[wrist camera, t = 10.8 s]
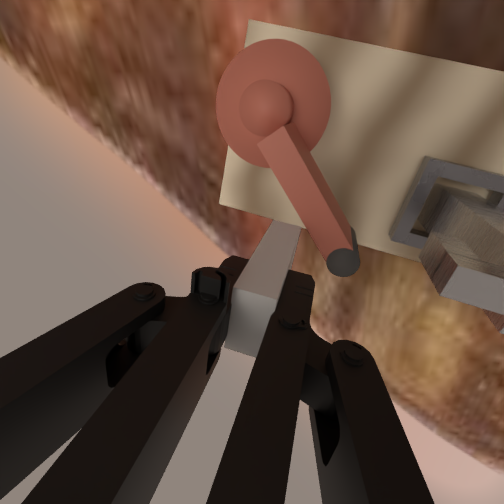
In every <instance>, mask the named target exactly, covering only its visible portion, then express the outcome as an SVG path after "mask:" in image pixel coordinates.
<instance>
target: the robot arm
mask: <svg viewBox="0 0 504 504" xmlns="http://www.w3.org/2000/svg"><path fill="white" fill-rule="evenodd" d="M300 231H301V227H300V226H296V225H292V224H288V223H284V222H280V221H276V220H273V221H272V223H271V225H270V226H269V228H268V230H267V231H266V233H265V235H264V236H263V238H262V240H261V241H260V243H259V245H258V246H257V248H256V250H255V251H254V253H253V255H252V256H251V258H250V260H249V259H245V258H241V257H237V256H234V255H233V256H231V257H229V258H227V259H225V260H224V261H223V262H222V264H221V265H220V267H219V268H213V267H202V268H199V269H196V270H195V271H193V272H192V279H191V293H190V294H189V295H188V296H187V297H171V296H165V291H164V288H162V287H161V286H160V285H158V284H155V283H148V282H143V283H137V284H134V285H132V286H129V287H128V288H126V289H124V290H122V291H120V292H119V293H117V294H115V295H113V296H112V297H110V298H108V299H106V300H104V301H103V302H101V303H99V304H97V305H95V306H93V307H92V308H90V309H88V310H86V311H84V312H83V313H81V314H79V315H77V316H75V317H74V318H72V319H70V320H68V321H66V322H65V323H63V324H61V325H59V326H57V327H55V328H54V329H52V330H50V331H48V332H47V333H45V334H43V335H41V336H39V337H37V338H36V339H34V340H32V341H30V342H28V343H27V344H25V345H23V346H21V347H20V348H18V349H16V350H14V351H12V352H10V353H9V354H7V355H5V356H3V357H1V358H0V500H1V499H2V498H3V497H4V496H5V495H6V494H8V493H9V492H10V491H11V490H12V489H13V488H14V487H16V486H17V485H18V484H19V483H20V482H21V481H22V480H23V479H25V477H27V476H28V475H29V474H30V473H31V472H32V471H34V470H35V469H36V468H37V467H38V466H39V465H40V464H42V463H43V462H44V461H45V460H46V459H47V458H48V457H49V456H50V455H52V454H53V453H54V452H55V451H56V450H57V449H59V448H60V447H61V446H62V445H63V444H64V443H65V442H66V441H67V440H69V439H70V438H71V437H72V436H73V435H74V434H75V433H77V432H78V431H79V430H80V429H81V428H82V429H81V430H80V431H79V432H78V434H77V435H76V436H75V437H74V439H73V440H72V441H71V442H70V444H69V445H68V446H67V447H66V449H65V450H64V451H63V452H62V454H61V455H60V456H59V457H58V459H57V460H56V461H55V462H54V464H53V465H52V466H51V467H50V469H49V470H48V471H47V473H46V474H45V475H44V476H43V477H42V478H41V480H40V481H39V483H38V484H37V485H36V486H35V487H34V489H33V490H32V491H31V492H30V493H29V495H28V496H27V497H26V499H25V500H24V501H23V502H22V503H21V504H149V503H150V501H151V499H152V497H153V495H154V493H155V491H156V488H157V486H158V484H159V482H160V480H161V478H162V476H163V473H164V472H165V469H166V468H167V466H168V463H169V461H170V459H171V457H172V455H173V453H174V451H175V449H176V447H177V445H178V443H179V440H180V439H181V437H182V434H183V432H184V430H185V428H186V426H187V424H188V422H189V420H190V418H191V416H192V414H193V412H194V410H195V408H196V406H197V403H198V401H199V399H200V397H201V395H202V393H203V391H204V389H205V386H206V385H207V383H208V381H209V379H210V376H211V374H212V372H213V370H214V368H215V366H216V364H217V362H218V360H219V357H220V352H221V347H222V345H223V343H224V341H225V346H224V347H225V348H228V349H231V350H234V351H237V352H240V353H243V354H246V355H249V356H253V357H256V360H255V363H254V366H253V369H252V372H251V375H250V378H249V380H248V383H247V386H246V389H245V392H244V395H243V398H242V401H241V404H240V407H239V409H238V412H237V415H236V418H235V421H234V424H233V427H232V430H231V433H230V436H229V438H228V441H227V444H226V447H225V450H224V453H223V456H222V459H221V462H220V465H219V468H218V470H217V473H216V476H215V479H214V482H213V485H212V488H211V491H210V494H209V497H208V500H207V502H206V504H284V502H285V495H286V489H287V482H288V475H289V468H290V462H291V454H292V448H293V442H294V435H295V428H296V421H297V414H298V407H299V401H300V400H302V401H303V402H304V403H306V404H307V405H309V414H310V421H311V428H312V435H313V442H314V448H315V456H316V463H317V469H318V476H319V483H320V489H321V497H322V503H323V504H434V501H433V499H432V497H431V494H430V492H429V489H428V487H427V484H426V482H425V480H424V477H423V475H422V473H421V470H420V468H419V466H418V463H417V460H416V458H415V456H414V453H413V451H412V448H411V446H410V444H409V441H408V439H407V437H406V434H405V432H404V429H403V427H402V425H401V422H400V420H399V417H398V415H397V413H396V410H395V408H394V406H393V403H392V401H391V398H390V396H389V393H388V391H387V389H386V386H385V384H384V381H383V379H382V377H381V374H380V372H379V369H378V367H377V365H376V362H375V360H374V358H373V356H372V355H371V353H370V352H369V351H368V350H367V349H365V348H364V347H363V346H361V345H360V344H358V343H356V342H353V341H349V340H338V341H336V342H333V344H330V343H329V342H327V341H325V340H323V339H322V338H320V337H319V336H318V335H317V334H316V333H315V332H314V331H313V329H312V328H311V326H310V314H311V307H312V301H313V294H314V288H315V282H314V280H313V278H312V276H311V275H308V274H304V273H300V272H296V271H293V270H291V268H292V264H293V260H294V256H295V252H296V248H297V244H298V239H299V235H300Z"/></svg>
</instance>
